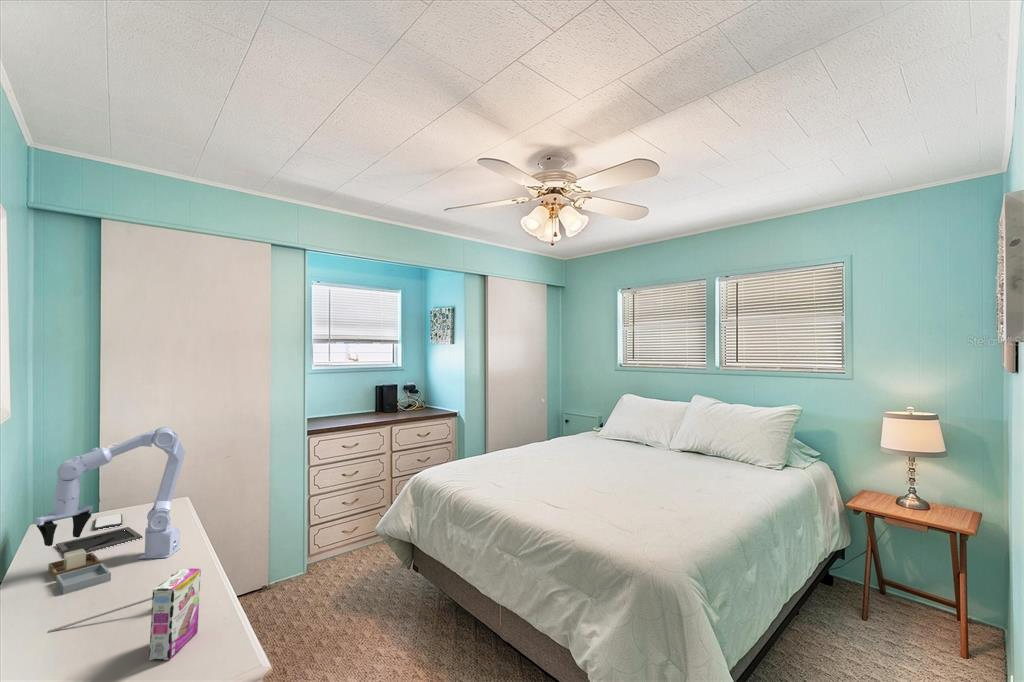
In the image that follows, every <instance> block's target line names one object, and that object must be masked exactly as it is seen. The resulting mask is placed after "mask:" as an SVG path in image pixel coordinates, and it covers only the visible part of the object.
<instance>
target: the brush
mask: <svg viewBox="0 0 1024 682" xmlns="http://www.w3.org/2000/svg"><path fill="white" fill-rule="evenodd" d="M179 571H180V570H178V569H177V570H176V572H175V573H172V574H170V577H172V576H173V575H175V574H176V573H177V572H179ZM152 597H153V596H151V597H148V598H145V599H142V600H139V601H135V602H132V603H129V604H126V605H123V606H120V607H117V608H114V609H110V610H108V611H105V612H100V613H98V614H96V615H92V616H89V617H85V618H84V619H79V620H77V621H73V622H70V623H68V624H64V625H61V626H58V627H55V628H52V629H48V630H47V633H48V634H49V633H52V632H56V631H59V630H62V629H65V628H68V627H71V626H75V625H77V624H81V623H84V622H87V621H89V620H93V619H95V618H100V617H102V616H105V615H108V614H113V613H115V612H117V611H121V610H124V609H127V608H130V607H133V606H136V605H140V604H142V603H145V602H149V601H152Z"/></svg>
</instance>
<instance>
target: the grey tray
mask: <svg viewBox="0 0 1024 682" xmlns="http://www.w3.org/2000/svg"><path fill="white" fill-rule="evenodd" d="M111 580H112V572H111V571H110V570H109V569H108V568H107V566H106V565H105V564H104V563H103V562H101V563H100V564H97V565H93V566H89V567H86V568H82V569H78V570H75V571H71V572H67V573H63V574H60V575H56V581H55V584H56V586H57V588H59V590H60V592H61V594H62V595H66V594H71V593H74V592H77V591H80V590H81V591H82V590H84V589H87V588H90V587H94V586H97V585H100V584H103V583H108V582H110V581H111ZM107 581H108V582H107Z"/></svg>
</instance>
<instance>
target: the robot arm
mask: <svg viewBox="0 0 1024 682" xmlns="http://www.w3.org/2000/svg"><path fill="white" fill-rule="evenodd" d="M152 444H153V445H154V447H156V448H158V449H160V450H162V451H164V453H166V455H167V460H166V464H165V468H164V471H163V474H162V478H161V482H160V485H159V489H158V492H157V495H156V499H155V500H154V503H153V506H152V508H151V509H150V510H149V511H148V513H147V527H146V528H145V531H144V533H145V537H144V553H143V554H141V555H140V556H138V559H139V560H142V559H164V558H165V559H166V558H170V557H171V556H172V555H174V554H175V553H176V552H177V551H178V550H180V549H181V546H180V536H181V535H180V534H181V532H180V529H179V528H178V527H173V526H172V523H171V520H172V519H171V517H170V516H171V515H170V513H171V512H170V511H171V508H172V500H173V498H174V494H175V491H176V487H177V483H178V481H179V480H178V479H179V477H180V473H181V470H182V467H183V463H184V459H185V455H186V450H185V448H184V446H183V444H182V441H181V440H180V437H179V436H178V434H177V433H176V432H175V431H174V430H172V429H171V428H170V427H167V426H163V427H162V426H160V427H158V428H156V429H152V430H149V431H145V432H144V433H141V434H139V435H136V436H134V437H132V438H130V439H127V440H125V441H123V442H121V443H118V444H116V445H113V446H112V447H109V448H107V447H103V446H101V447H94V448H92V449H91V451H89V452H87V453H84V454H81V455H79V456H78V455H75V456H73V459H72V458H71V459H67V460H65V461H63V462H62V463H61V464H60V465H59V467H57V470H56V476H57V478H56V479H57V480H56V486H55V494H54V496H55V497H54V504H53V512H51V513H48V514H46V515H43V516H40V517H36V518H35V523H34V524H35V526H36V527H37V528H38V530H39V532H40V534H41V536H42V538H43V543H44V546H46V547H51V546H53V544H54V538H55V532H56V529H57V527H58V523H57V524H56V523H54V522H55V521H60V520H63V519H67V518H72V525H73V526H72V537H73V538H76V539H79V538H81V536H82V535H81V534H82V532H83V530H84V528H85V526H86V524H87V523H88V522H89V520H90V518H92V512H93V510H94V506H93V505H89V504H88V505H84V506H79V505H80V504H79V503H80V493H81V485H82V484H81V483H82V482H81V474H82V473H88V472H90V471H93V470H95V469H98V468H100V467H102V466H104V465H107V464H109V463H111V461H112V460H113V458H114V457H116V456H119V455H121V454H124V453H127V452H129V451H132V450H135V449H137V448H140V447H146V448H147V447H148V448H151V447H152V446H153V445H152Z"/></svg>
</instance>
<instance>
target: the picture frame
mask: <svg viewBox="0 0 1024 682" xmlns="http://www.w3.org/2000/svg"><path fill="white" fill-rule="evenodd" d="M124 530H125V531H124ZM140 538H142V539H143V536H142V534H140V533H138V532H137V531H136V530H134V529H132V528H131V527H129V526H126V527H121V528H118V529H113V530H109V531H106V532H101V533H96V534H93V535H92V534H91V535H88V536H84V537H78V538H75V539H70V540H66V541H63V542H58V543H55V547H56V546H57V547H58V548H59V549H60V550H61V551H60V550H59V549H58V548H57V547H56V548H57V549H58V550H59V551H60V552H61V554H63V555H64V553H66V552H70V551H74V550H79V549H84V550H85V551H86V554H89V553H93V552H97V551H100V550H99V549H101V550H104V549H107V548H106V547H108V548H111V547H110V546H112V547H115V546H114V545H116V546H118V545H117V544H120V545H122V544H121V543H124V544H126V543H125V542H128V541H131V542H133V541H132V540H135V541H137V540H136V539H139V540H141V539H140ZM128 543H129V542H128ZM103 548H104V549H103ZM96 550H97V551H96ZM92 551H93V552H92Z"/></svg>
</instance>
